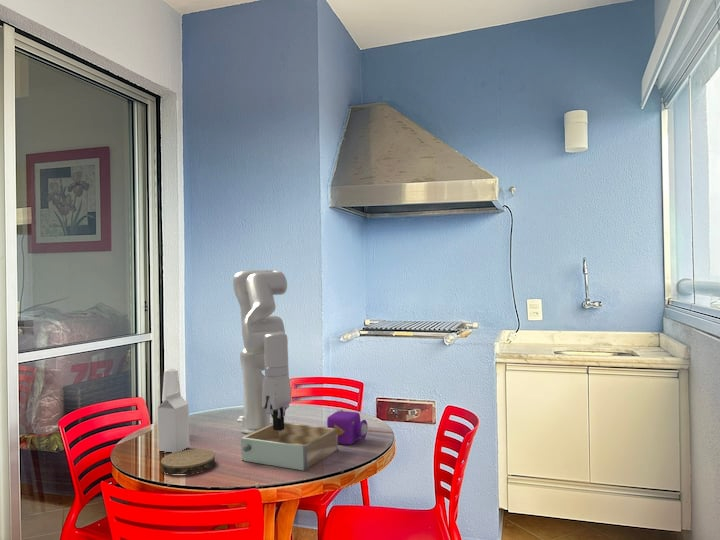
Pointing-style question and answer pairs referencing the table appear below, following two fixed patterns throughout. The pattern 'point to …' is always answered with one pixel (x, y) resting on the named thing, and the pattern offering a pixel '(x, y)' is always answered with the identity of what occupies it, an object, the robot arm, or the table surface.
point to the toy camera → (347, 426)
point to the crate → (302, 439)
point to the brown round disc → (188, 461)
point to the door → (274, 453)
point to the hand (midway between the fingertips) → (278, 429)
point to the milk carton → (173, 424)
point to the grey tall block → (170, 383)
